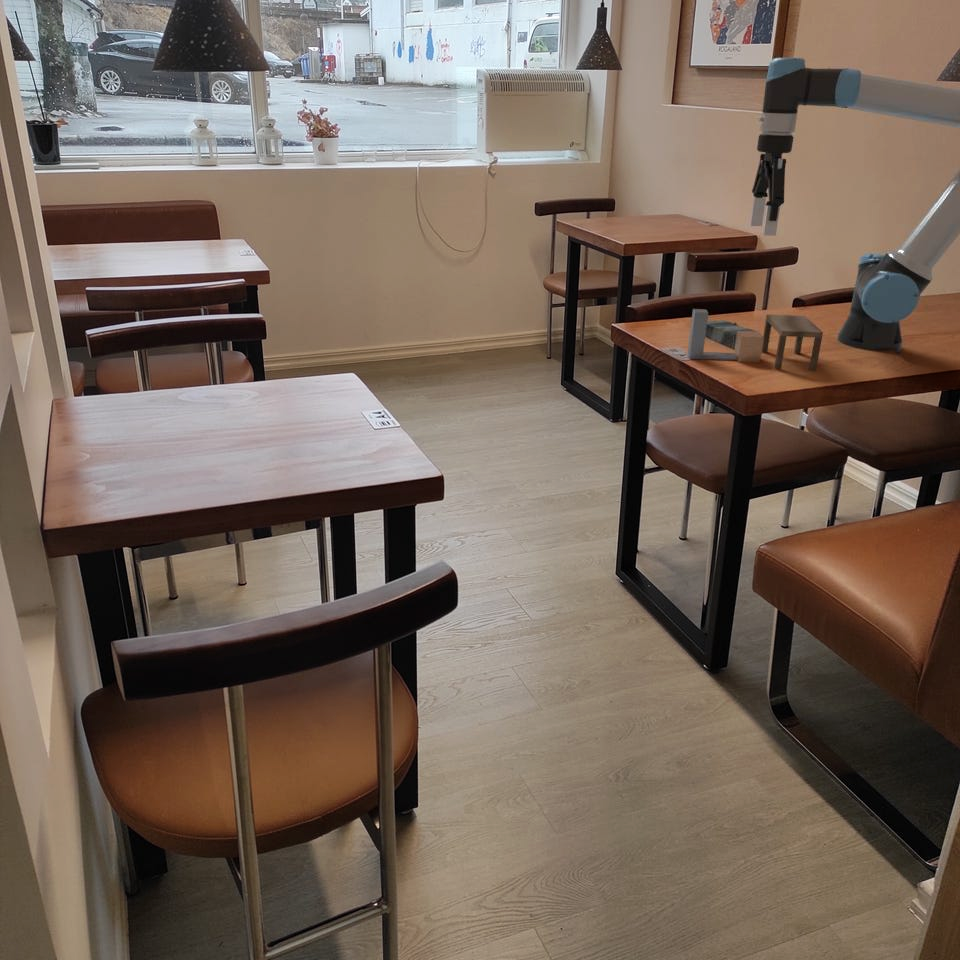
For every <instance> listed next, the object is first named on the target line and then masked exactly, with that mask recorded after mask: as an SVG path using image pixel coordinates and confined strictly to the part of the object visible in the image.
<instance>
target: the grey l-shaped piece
mask: <svg viewBox="0 0 960 960" xmlns="http://www.w3.org/2000/svg"><path fill="white" fill-rule="evenodd" d="M708 317H709V312H708V310H707V309H704V308H703V309H702V308H701V309H700V308H692V315H691V324H690V331H689V339H688V346H687V347H688V348H687V357H688V359H690V360H719V361H720V360H724V361H737V362H738V363H758V364H759V363H760V362H761V358H762V345H763V339H764V337H763V334H761V332H760V331H758V332H757V330H755V331H737V336H736V343H735V349H734V350H733V351H734V352H719V351H718V352H716V351H704V350H705V341H706V337H705V335H706V327H707V321H708Z"/></svg>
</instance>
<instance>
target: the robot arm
mask: <svg viewBox="0 0 960 960" xmlns="http://www.w3.org/2000/svg"><path fill="white" fill-rule="evenodd" d="M799 106H812V107H813V106H815V107H833V108H834V107H837V108H841V109H843V108H845V109H849V110H855V111H861V112H867V113H872V114H876V115H877V114H878V115H885V116H888V117H895V118H901V119H906V120H912V121H917V122H923V123H930V124H935V125H941V126H946V127H953V128H957V129H960V89H958V88H951V87H945V86H940V85H939V86H938V85H934V84H933V85H931V84H927V83H921V82H915V81H914V82H913V81H910V80H909V81H906V80H903V79H902V80H901V79H897V78H896V79H895V78H889V77H885V76H884V77H883V76H878V75H872V74H871V75H870V74H863V73H862V72H861V70H860V69H857V68H856V69H853V68H830V67H829V68H828V67H827V68H810V67H806V60H805V58H803V57H775V58H773V59H772V60H770V62H769V64H768V70H767V76H766V80H765V88H764V96H763V104H762V110H761V111H762V112H761V116H760V117H758V122H760V126H759V127H760V128H759V131H760V132H761V133H760V134H759V135H758V137H757V138H758V139H757V145H756V146H757V147H756V150H757V152H760V156H759V163H758V168H757V171H756V175H755V179H754V182H753V186H752V189H751V192H752V195H753V201H752V208H751V215H750V222H749V226H750V227H763V233H762V236H766V237H767V236H768V237H769V236H770V237H771V236H772V237H773V236H774V237H776V236H777V229H778V224H779V217H780V212H781V206H782V205H784V203H785V185H786V184H785V181H786V179H785V177H786V164H787V159H786V158H783V157H782V156H783V154H789V153H791V152H792V149H793V143H794V138H795V137H794V136H793V135H792V134H793V133H795V131H796V124H797V119H798V118H797V117H798V111H799V110H798V109H799ZM767 191H768V192H767ZM767 198H768V201H766V200H767ZM765 207H766V208H765ZM765 209H766V211H765ZM764 214H765V218H764ZM763 221H764V225H763ZM959 236H960V169H958V171H957V172H956V173H955V175H954V176H953V177H952V179H951V180H949V182H948V184H947V185H946V187H944V189H943V190H942V192H941V193H940V194H939V195H938V197H937V198H936V199H935V201H934V202H933V203H932V205H931V206H930V207H929V208H928V210H926V213H925V214H924V215H923V217H921V218H920V220H919V222H917V224H916V225H915V227H914V228H913V230H912V231H911V232H910V233H909V234H908V236H907V238H905V240H904V241H903V242H902V244H900V246H899V247H898V248H897V249H893V250H889V251H887V252H886V253H864V254H862V255H861V257H860V260H859V263H858V264H857V265H858V266H857V268H858V269H857V274H856V279H855V284H854V289H853V293H852V300H851V304H850V311H849V314H848V316H847V318H846V320H845V321H844V323H843V324H842V327H841V329H840V331H839V332H838V335H837V339H836V340H837V341H838V342H839V343H840V344H842V345H845V346H848V347H851V348H855V349H860V350H866V351H876V352H877V351H878V352H879V351H880V352H882V351H883V352H889V351H893V352H895V354H900V352H901V350H902V347H903V336H902V329H901V321H902V320H905V319H906V318H907V317H909V316H910V315H911V314H912V313H913V312H914V311H915V310H916V308H917V306H918V303H919V301H920V296H921V294H922V293H923V292H924V291H925V289H927V287H928V286H929V285H930V283H931V282H932V280H933V274H932V273H933V272H932V271H933V268H934V267H935V266H936V264H937V263H938V262H939V261H940V259H942V257H943V256H944V254H945V253H946V252H947V251H948V249H949V248H950V247H951V246H952V244H953V243H954V242H955V240H957V238H958V237H959Z"/></svg>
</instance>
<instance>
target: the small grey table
mask: <svg viewBox="0 0 960 960" xmlns="http://www.w3.org/2000/svg"><path fill="white" fill-rule="evenodd" d="M772 328H773V329H774V330H775V331H776V332H777V334H779V336H778V342H777V343H778V344H777V350H776V356H775V361H774V370H780V371H781V370H782V366H783V359H784V354H785V348H786V343H787V341H786V340H787V337H792V338H793V337H795V342H794V349H793V354H796V355H800V354H801V351H802V345H803V340H804V338H814V340H813V345H812V352H811V357H810V360H809V361H810V362H809V368H808V370H809V371H810V372H817V367H818V362H819V356H820V351H821V345H822V339H823V334H824V332H823V331H822V330H821V328H819V327H818V326H817V325H816V324H815V323H813V322H812V321H811V319H809V318H808V317H807V316H806V315H793V314H792V315H790V314H789V315H788V314H787V315H786V314H766V317H765V324H764V329H763V334H762V336H763V337H764V339H763V345H762V352H761V354H765V353H767V354H768V350H769V343H770V337H771V330H772Z"/></svg>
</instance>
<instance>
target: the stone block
mask: <svg viewBox="0 0 960 960" xmlns="http://www.w3.org/2000/svg"><path fill="white" fill-rule="evenodd" d="M737 331H757V330H754V329H750V328H748V327H745V326H742V325H738V324H737V322H731V321H729V320H728V321H727V320H724V319H723V320H721V319H720V320H709V321H708V320H707V327H706V335H705V339H709V340H711V341H713V342H715V343H717V344H720V345H723V346H725V347H726V348H729V349H732V350H733V349H734V350H735V343H736V336H737ZM757 332H759V331H757Z"/></svg>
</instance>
